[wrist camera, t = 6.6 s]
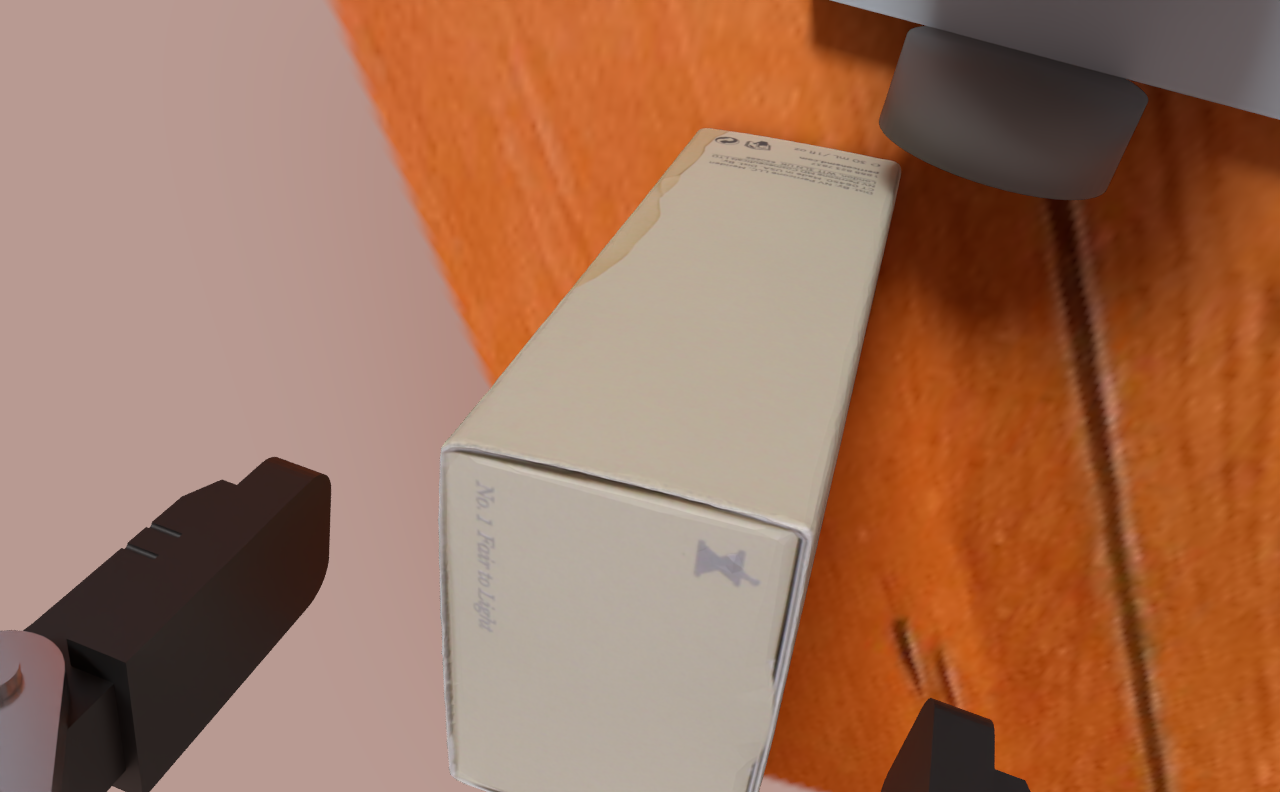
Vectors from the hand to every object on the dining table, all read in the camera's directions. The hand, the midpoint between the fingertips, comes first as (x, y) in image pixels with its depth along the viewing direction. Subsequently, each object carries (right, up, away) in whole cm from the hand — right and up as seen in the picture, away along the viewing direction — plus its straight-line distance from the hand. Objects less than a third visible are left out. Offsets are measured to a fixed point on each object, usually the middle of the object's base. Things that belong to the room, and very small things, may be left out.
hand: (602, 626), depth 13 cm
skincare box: (+4, +6, +9) cm, 12 cm away
